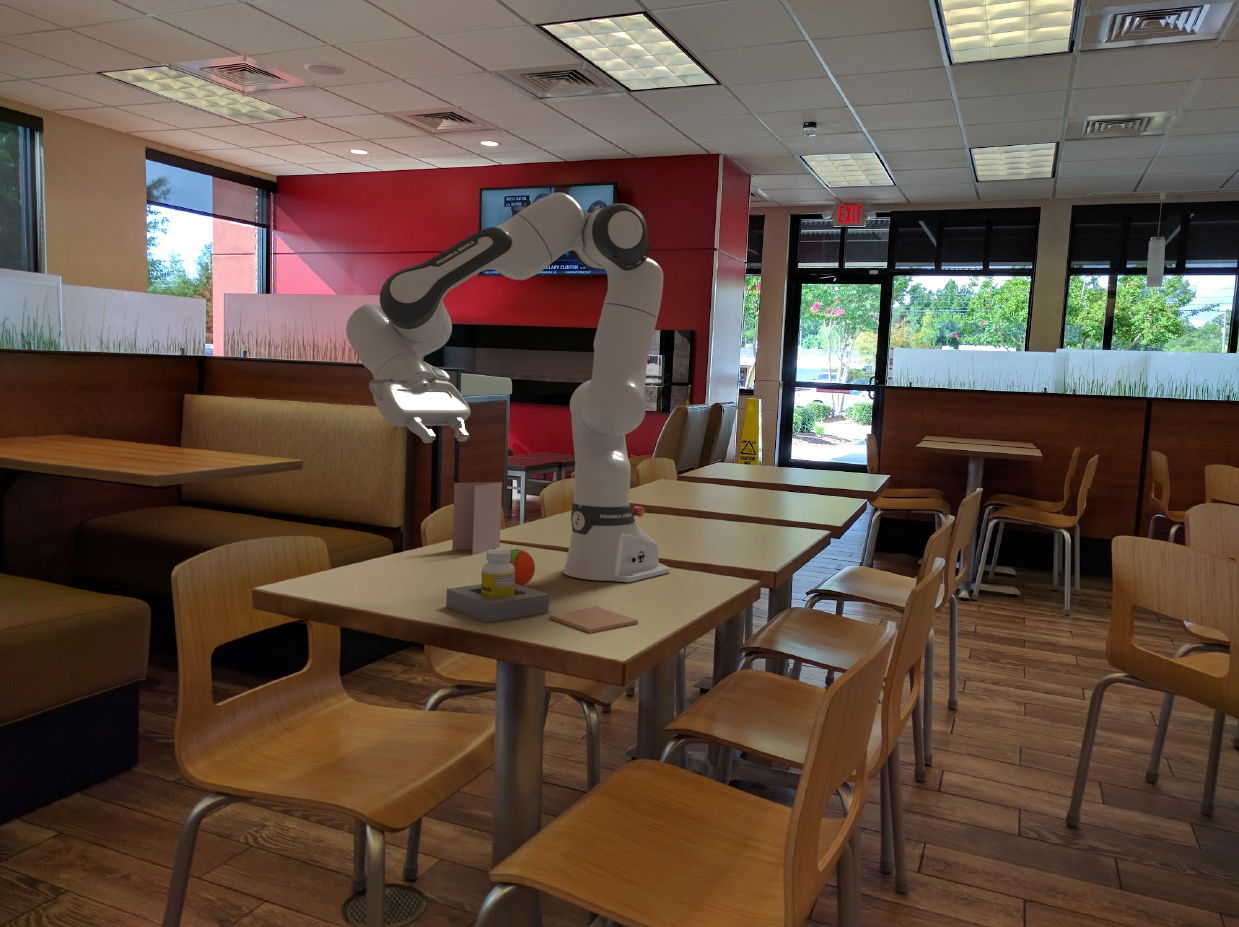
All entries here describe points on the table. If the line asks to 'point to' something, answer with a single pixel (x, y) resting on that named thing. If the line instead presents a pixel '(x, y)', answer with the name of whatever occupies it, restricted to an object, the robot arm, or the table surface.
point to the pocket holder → (497, 603)
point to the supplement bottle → (498, 574)
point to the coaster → (593, 619)
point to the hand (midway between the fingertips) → (448, 439)
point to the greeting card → (477, 516)
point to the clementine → (522, 566)
